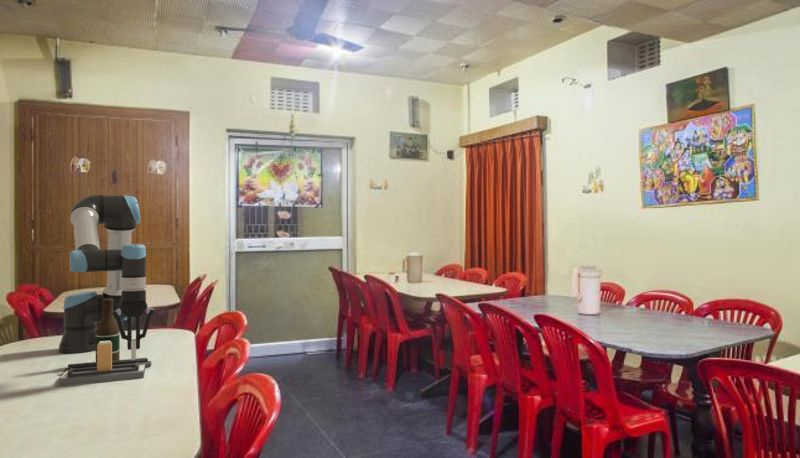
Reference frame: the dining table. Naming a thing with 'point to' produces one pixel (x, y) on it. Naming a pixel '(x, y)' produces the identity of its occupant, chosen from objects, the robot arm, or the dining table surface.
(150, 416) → the dining table surface
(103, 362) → the block
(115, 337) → the beer bottle
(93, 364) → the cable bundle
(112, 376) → the grey rectangular tray
